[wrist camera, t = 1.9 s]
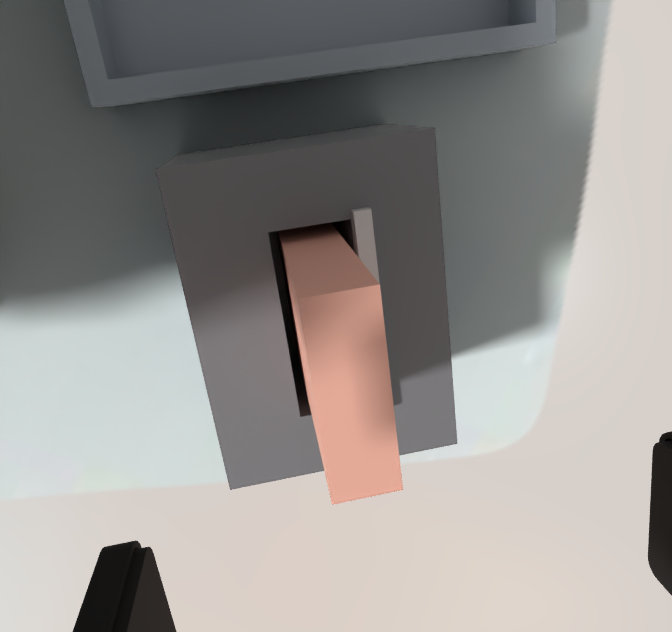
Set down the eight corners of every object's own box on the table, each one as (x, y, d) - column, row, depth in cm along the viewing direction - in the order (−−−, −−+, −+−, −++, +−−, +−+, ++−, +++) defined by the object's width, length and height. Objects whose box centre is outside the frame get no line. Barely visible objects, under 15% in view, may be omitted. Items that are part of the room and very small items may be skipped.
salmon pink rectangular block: (273, 215, 25) (298, 298, 14) (319, 208, 25) (379, 284, 14) (295, 343, 27) (331, 504, 16) (337, 335, 28) (403, 489, 16)
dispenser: (177, 154, 25) (153, 171, 18) (385, 123, 26) (438, 128, 19) (233, 404, 29) (229, 496, 22) (410, 370, 30) (460, 448, 23)
